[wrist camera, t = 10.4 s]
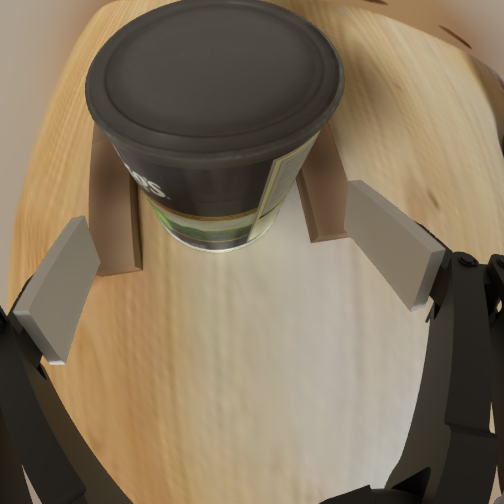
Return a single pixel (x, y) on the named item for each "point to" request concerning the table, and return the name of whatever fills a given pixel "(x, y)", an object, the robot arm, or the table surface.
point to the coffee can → (215, 111)
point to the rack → (126, 214)
